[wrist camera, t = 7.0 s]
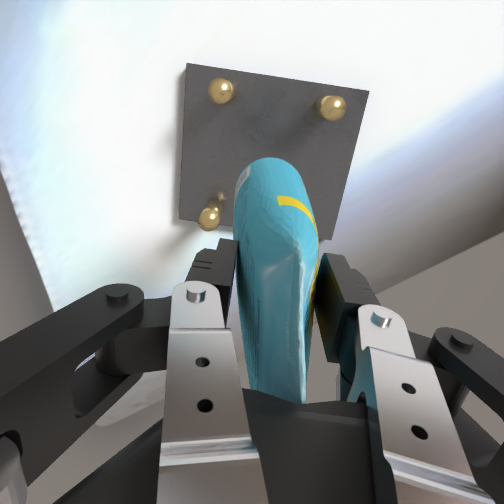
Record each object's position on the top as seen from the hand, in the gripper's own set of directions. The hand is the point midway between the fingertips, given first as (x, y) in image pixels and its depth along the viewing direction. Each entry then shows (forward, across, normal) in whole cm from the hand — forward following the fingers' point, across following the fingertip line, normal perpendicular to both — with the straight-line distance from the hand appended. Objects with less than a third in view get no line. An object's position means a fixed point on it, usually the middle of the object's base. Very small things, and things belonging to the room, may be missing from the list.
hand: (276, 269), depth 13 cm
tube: (+12, 0, 0) cm, 12 cm away
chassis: (+27, 0, 0) cm, 27 cm away
